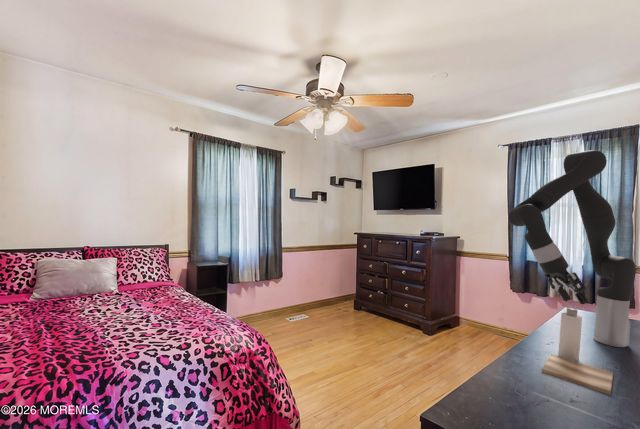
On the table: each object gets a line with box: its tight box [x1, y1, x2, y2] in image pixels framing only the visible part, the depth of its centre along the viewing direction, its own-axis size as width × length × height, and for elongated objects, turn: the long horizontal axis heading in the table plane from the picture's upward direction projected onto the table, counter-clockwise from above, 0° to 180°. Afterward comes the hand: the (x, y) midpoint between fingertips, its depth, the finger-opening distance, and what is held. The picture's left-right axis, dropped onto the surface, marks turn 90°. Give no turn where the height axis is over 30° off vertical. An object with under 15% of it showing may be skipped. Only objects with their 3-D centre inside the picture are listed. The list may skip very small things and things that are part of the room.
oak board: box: [541, 353, 614, 396], centre depth 93 cm, size 15×15×1 cm
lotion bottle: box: [557, 307, 583, 362], centre depth 105 cm, size 5×5×16 cm
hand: (575, 301), depth 106 cm, fingers open, 8 cm apart
